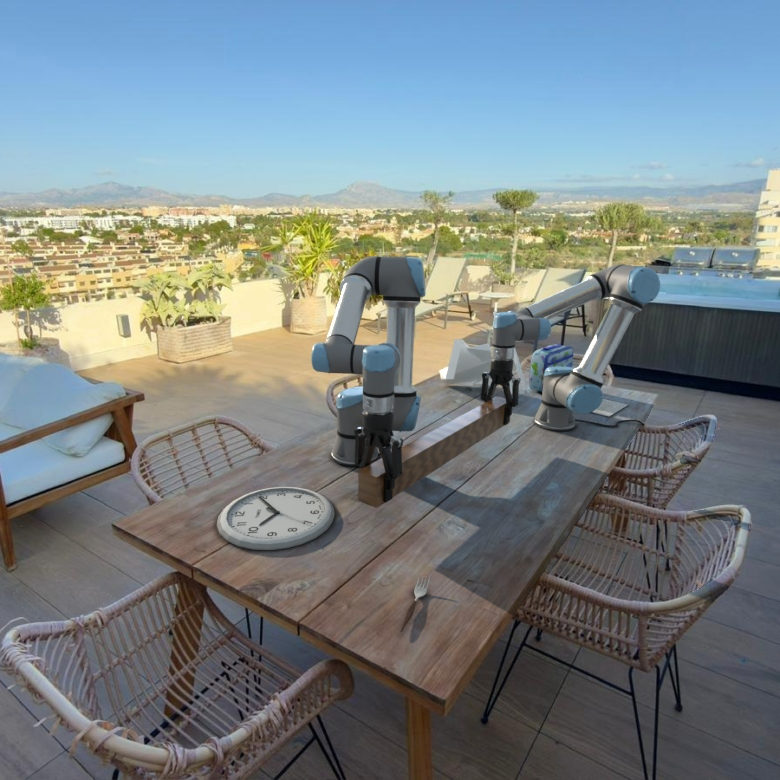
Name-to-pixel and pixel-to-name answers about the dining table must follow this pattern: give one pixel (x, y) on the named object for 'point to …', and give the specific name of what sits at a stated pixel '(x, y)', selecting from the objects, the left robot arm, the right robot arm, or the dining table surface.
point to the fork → (418, 593)
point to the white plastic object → (474, 364)
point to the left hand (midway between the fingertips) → (377, 495)
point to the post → (432, 451)
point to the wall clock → (275, 518)
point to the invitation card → (609, 407)
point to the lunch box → (548, 363)
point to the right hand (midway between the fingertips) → (497, 421)
